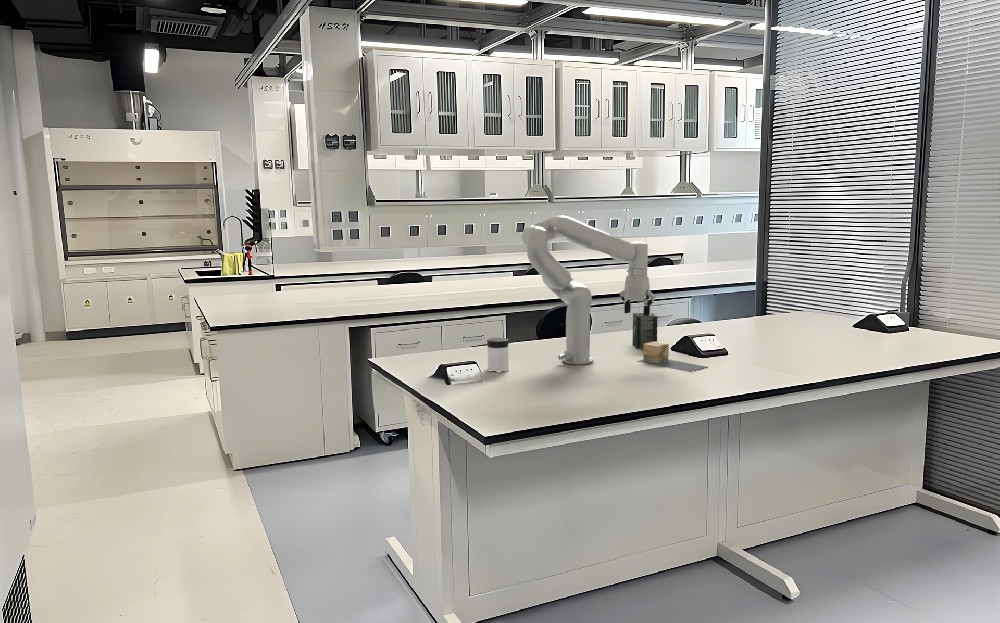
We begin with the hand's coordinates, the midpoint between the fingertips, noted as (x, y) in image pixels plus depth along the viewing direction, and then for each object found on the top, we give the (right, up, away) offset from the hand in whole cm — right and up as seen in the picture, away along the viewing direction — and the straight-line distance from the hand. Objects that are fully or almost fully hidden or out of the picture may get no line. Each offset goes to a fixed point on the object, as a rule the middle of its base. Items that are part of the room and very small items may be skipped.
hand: (636, 314), depth 285 cm
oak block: (+7, -19, -5) cm, 20 cm away
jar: (-57, -22, -15) cm, 63 cm away
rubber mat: (+11, -20, -11) cm, 25 cm away
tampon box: (+8, -15, +25) cm, 30 cm away
